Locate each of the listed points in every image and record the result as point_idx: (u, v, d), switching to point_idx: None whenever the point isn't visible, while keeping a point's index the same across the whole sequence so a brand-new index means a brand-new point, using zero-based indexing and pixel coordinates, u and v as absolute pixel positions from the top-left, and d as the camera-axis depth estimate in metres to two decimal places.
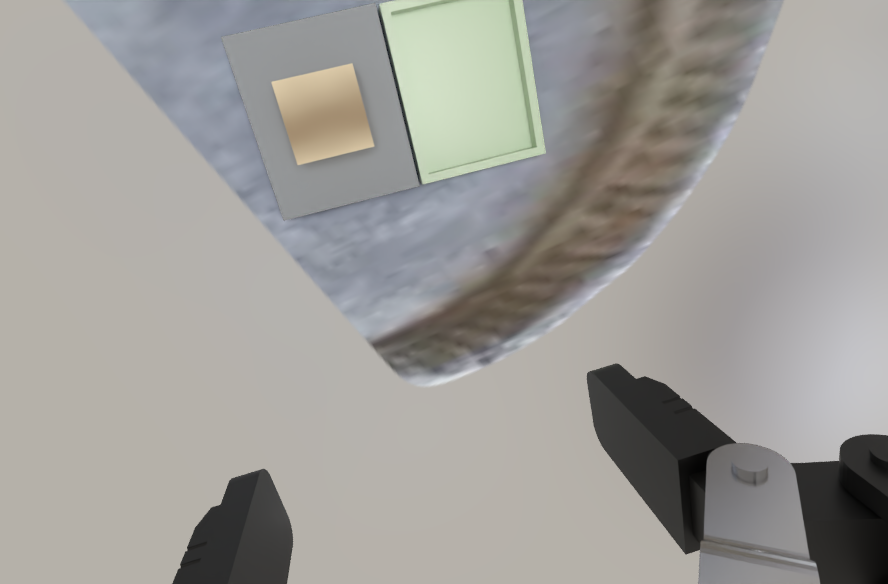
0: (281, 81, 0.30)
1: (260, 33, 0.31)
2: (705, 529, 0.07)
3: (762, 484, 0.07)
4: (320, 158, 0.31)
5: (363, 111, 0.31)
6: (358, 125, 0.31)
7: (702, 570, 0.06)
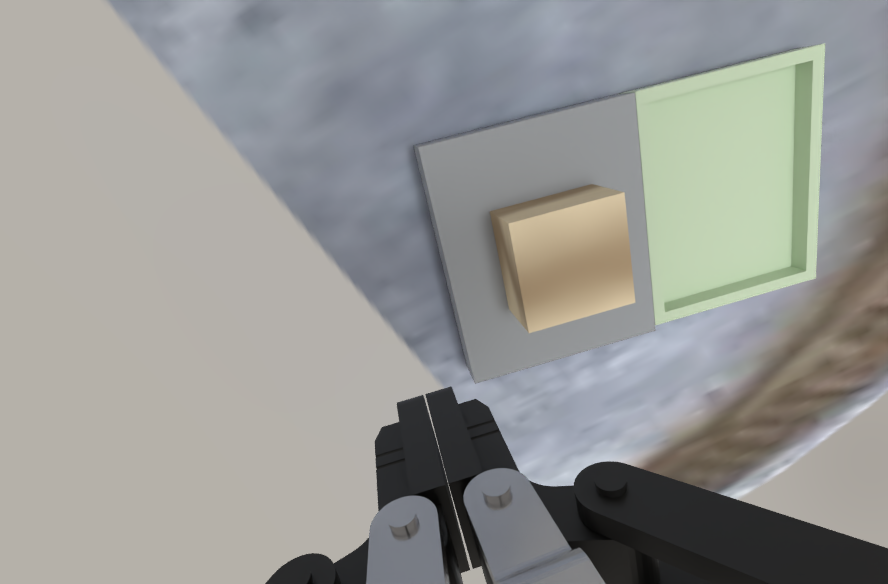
0: (522, 222, 0.20)
1: (473, 140, 0.21)
2: (492, 569, 0.07)
3: (498, 508, 0.08)
4: (560, 322, 0.22)
5: (628, 257, 0.21)
6: (619, 276, 0.21)
7: None
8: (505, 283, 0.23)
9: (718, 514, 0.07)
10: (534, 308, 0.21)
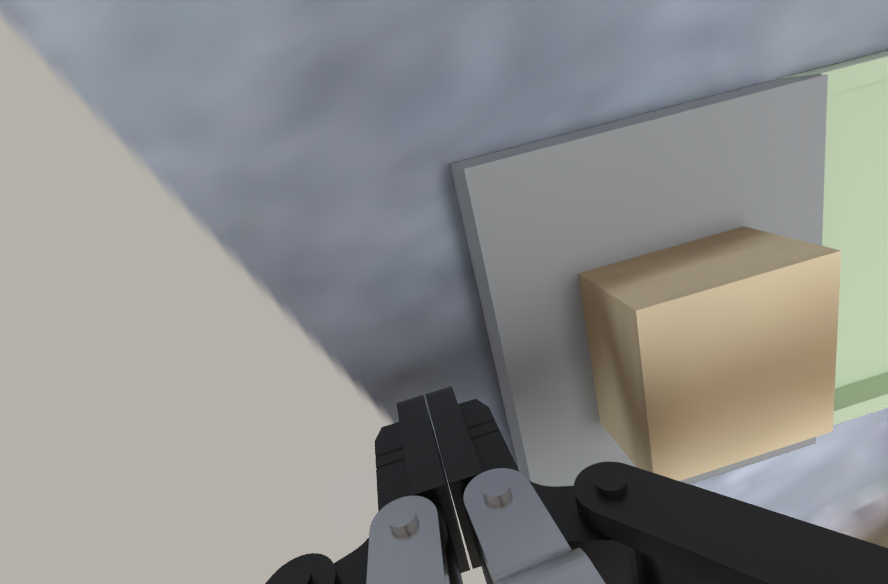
0: (661, 307, 0.11)
1: (557, 156, 0.12)
2: (492, 569, 0.07)
3: (498, 508, 0.08)
4: (709, 469, 0.13)
5: (832, 359, 0.12)
6: (812, 391, 0.12)
7: None
8: (599, 387, 0.14)
9: (718, 514, 0.07)
10: (667, 449, 0.12)
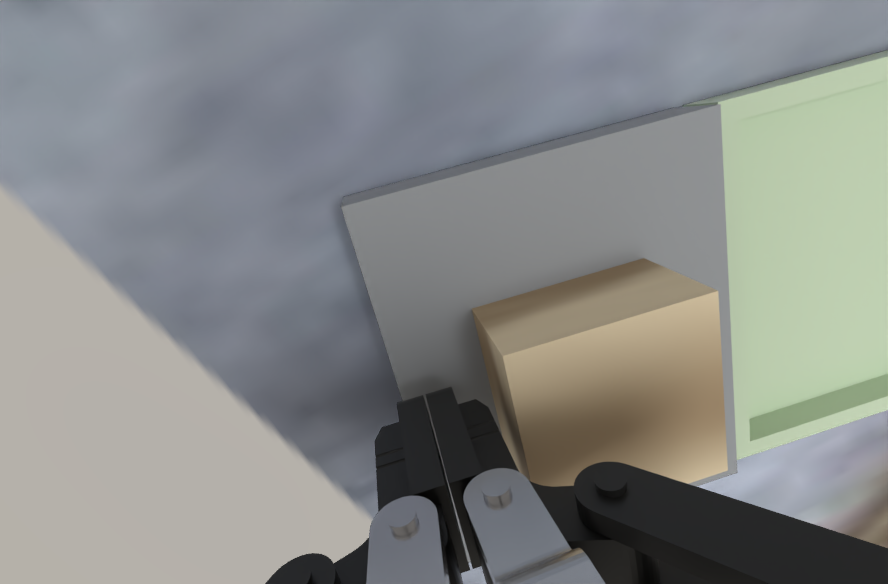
0: (529, 352, 0.11)
1: (440, 192, 0.12)
2: (492, 569, 0.07)
3: (498, 508, 0.08)
4: None
5: (720, 399, 0.12)
6: (702, 431, 0.12)
7: None
8: (500, 422, 0.14)
9: (718, 514, 0.07)
10: None
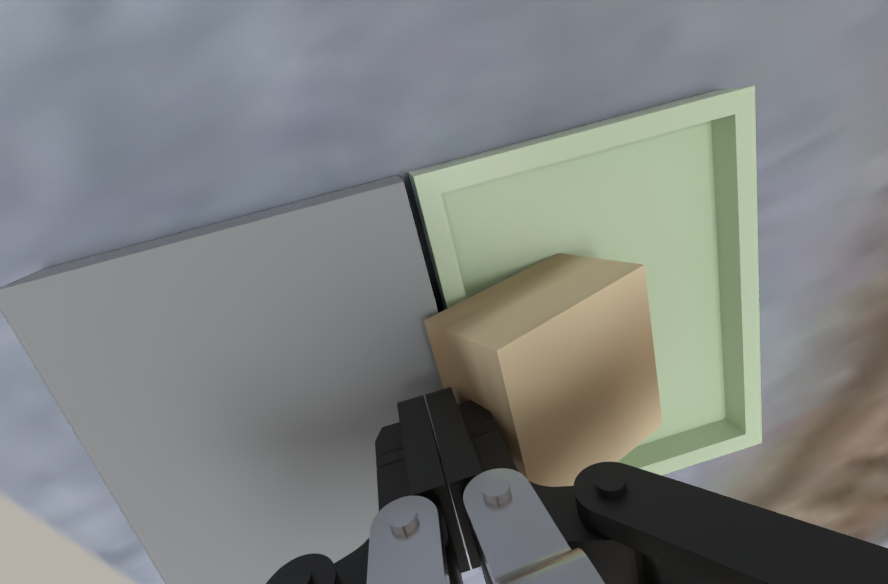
0: (518, 342, 0.11)
1: (100, 275, 0.12)
2: (492, 569, 0.07)
3: (497, 508, 0.08)
4: None
5: (653, 361, 0.14)
6: (643, 393, 0.14)
7: None
8: None
9: (718, 514, 0.07)
10: (544, 483, 0.12)
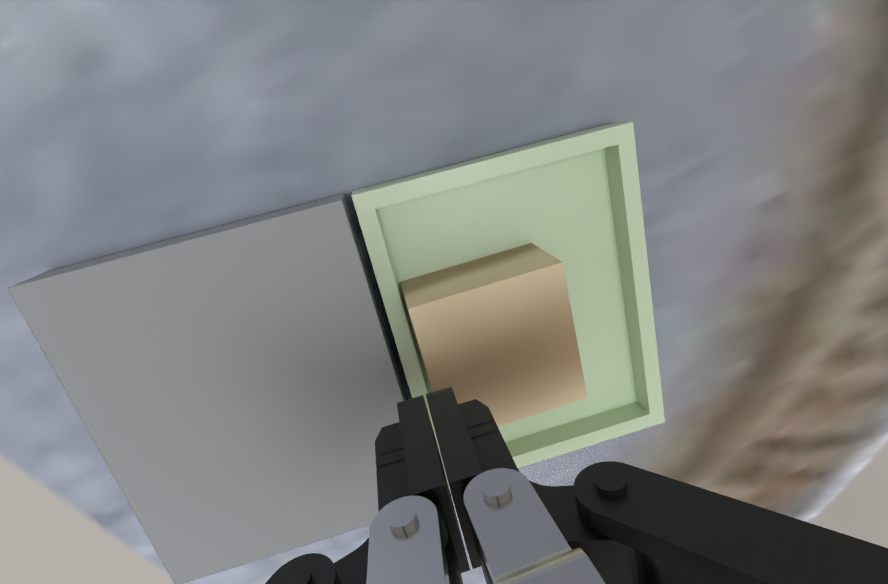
0: (427, 306, 0.15)
1: (95, 275, 0.15)
2: (492, 569, 0.07)
3: (498, 508, 0.08)
4: None
5: (574, 342, 0.16)
6: (563, 367, 0.16)
7: None
8: None
9: (718, 513, 0.07)
10: None
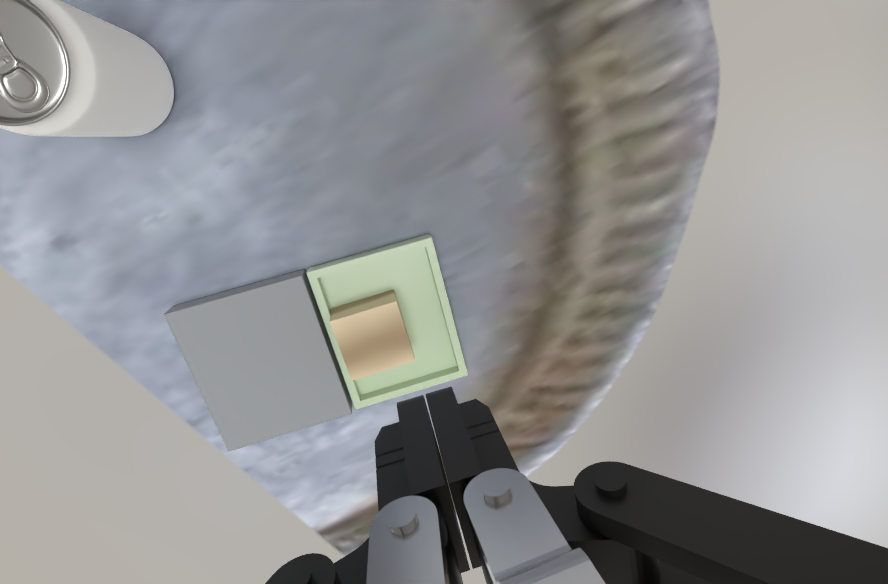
0: (338, 320, 0.36)
1: (199, 308, 0.35)
2: (492, 569, 0.07)
3: (498, 508, 0.08)
4: (370, 373, 0.37)
5: (405, 335, 0.37)
6: (402, 346, 0.37)
7: None
8: None
9: (718, 514, 0.07)
10: (352, 366, 0.37)
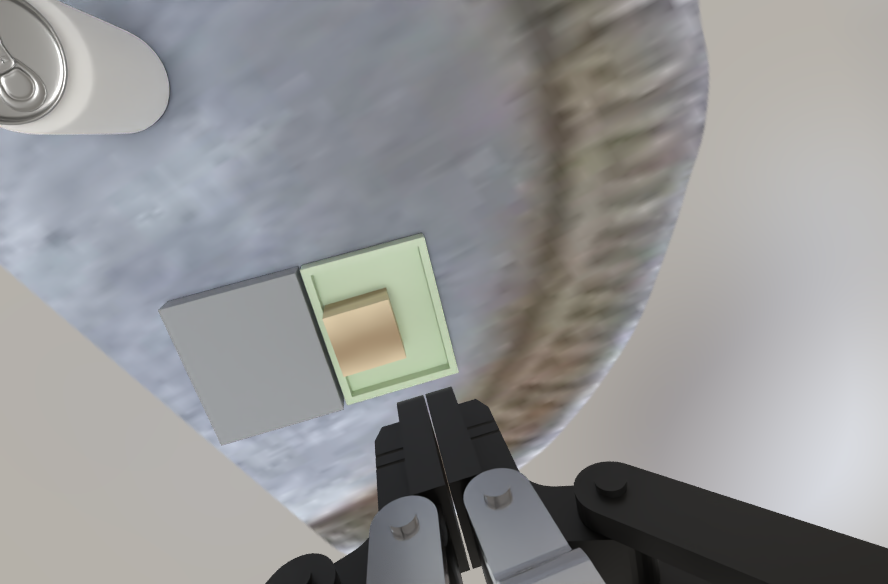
0: (330, 318, 0.36)
1: (193, 304, 0.36)
2: (492, 569, 0.07)
3: (498, 508, 0.08)
4: (362, 370, 0.38)
5: (397, 333, 0.37)
6: (393, 344, 0.38)
7: None
8: None
9: (718, 513, 0.07)
10: (344, 363, 0.37)
